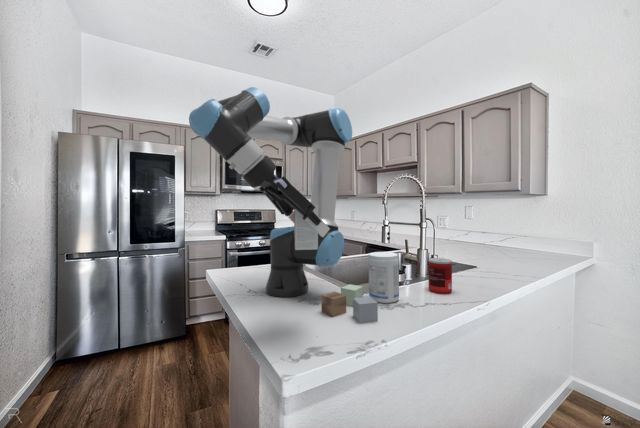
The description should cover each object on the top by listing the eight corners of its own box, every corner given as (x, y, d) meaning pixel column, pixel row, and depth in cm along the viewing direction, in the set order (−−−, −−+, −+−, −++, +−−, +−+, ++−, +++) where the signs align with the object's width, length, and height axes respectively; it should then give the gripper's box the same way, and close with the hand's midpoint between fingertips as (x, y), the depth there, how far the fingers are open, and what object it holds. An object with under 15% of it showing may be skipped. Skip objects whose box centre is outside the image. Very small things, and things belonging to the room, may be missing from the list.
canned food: (447, 287, 103) (447, 257, 102) (455, 294, 95) (455, 262, 94) (425, 287, 103) (425, 257, 103) (432, 294, 95) (432, 261, 95)
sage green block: (341, 303, 87) (340, 287, 87) (349, 299, 91) (349, 284, 91) (355, 307, 84) (354, 290, 84) (363, 302, 88) (362, 286, 88)
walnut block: (321, 312, 80) (321, 294, 80) (334, 308, 83) (334, 291, 83) (332, 317, 76) (332, 299, 76) (346, 313, 79) (346, 295, 79)
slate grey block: (353, 316, 77) (352, 298, 77) (370, 314, 78) (370, 296, 78) (359, 323, 72) (359, 304, 72) (377, 321, 73) (377, 302, 73)
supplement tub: (388, 293, 97) (387, 250, 97) (405, 301, 88) (405, 255, 88) (363, 296, 94) (363, 252, 93) (378, 305, 85) (378, 257, 84)
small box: (294, 245, 74) (294, 205, 73) (315, 245, 74) (315, 205, 74) (294, 250, 66) (294, 205, 65) (318, 249, 66) (317, 205, 66)
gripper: (232, 180, 72) (290, 238, 80) (254, 170, 53) (328, 247, 60) (252, 161, 74) (307, 219, 82) (280, 144, 55) (349, 222, 63)
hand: (316, 231), depth 71 cm, fingers closed on small box, 9 cm apart
